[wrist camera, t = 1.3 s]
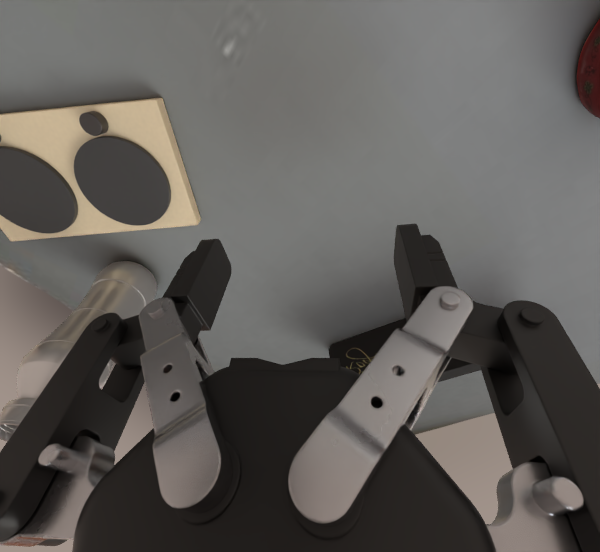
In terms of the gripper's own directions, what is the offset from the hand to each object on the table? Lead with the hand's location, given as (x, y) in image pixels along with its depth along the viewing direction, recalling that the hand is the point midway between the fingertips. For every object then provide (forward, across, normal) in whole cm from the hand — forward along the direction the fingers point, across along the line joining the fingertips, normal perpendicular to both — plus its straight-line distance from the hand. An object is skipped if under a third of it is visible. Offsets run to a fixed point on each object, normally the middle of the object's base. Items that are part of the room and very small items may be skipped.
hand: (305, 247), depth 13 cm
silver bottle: (+14, +26, +14) cm, 33 cm away
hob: (+16, +25, +1) cm, 30 cm away
